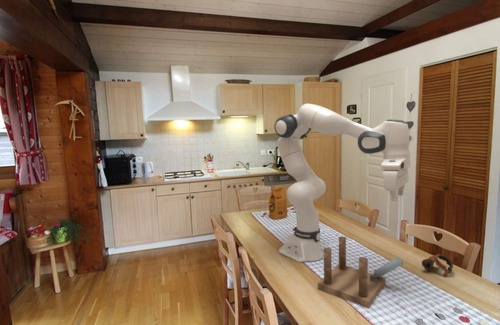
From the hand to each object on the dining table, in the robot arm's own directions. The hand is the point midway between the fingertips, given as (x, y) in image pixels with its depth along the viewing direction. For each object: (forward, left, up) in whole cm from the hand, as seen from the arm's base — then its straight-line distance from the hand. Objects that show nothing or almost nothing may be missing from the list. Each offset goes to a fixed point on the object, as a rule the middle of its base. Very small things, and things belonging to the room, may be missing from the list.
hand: (397, 197), depth 107 cm
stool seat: (-14, -10, -36) cm, 40 cm away
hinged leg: (-7, -3, -32) cm, 33 cm away
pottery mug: (+10, +22, -37) cm, 44 cm away
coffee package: (-90, +44, -37) cm, 106 cm away
